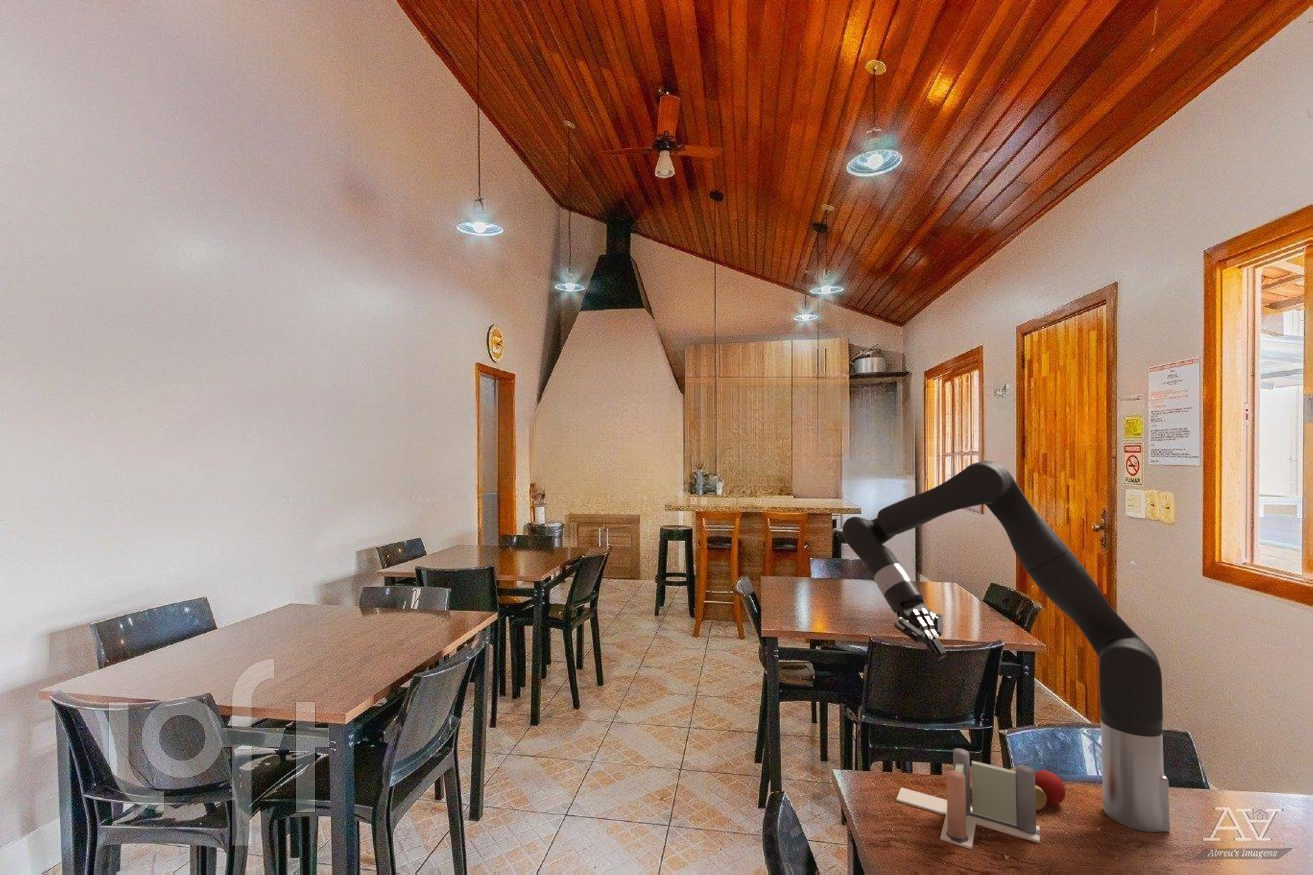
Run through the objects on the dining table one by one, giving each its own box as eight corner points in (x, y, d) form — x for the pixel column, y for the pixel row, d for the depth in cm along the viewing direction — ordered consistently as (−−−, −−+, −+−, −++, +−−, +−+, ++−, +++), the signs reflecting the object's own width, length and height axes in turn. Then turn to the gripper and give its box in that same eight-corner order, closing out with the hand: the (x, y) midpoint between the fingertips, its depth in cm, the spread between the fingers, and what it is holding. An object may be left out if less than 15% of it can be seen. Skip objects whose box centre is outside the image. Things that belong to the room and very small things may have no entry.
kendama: (982, 818, 115) (1078, 810, 113) (974, 782, 116) (1069, 774, 115) (965, 803, 122) (1056, 795, 121) (958, 770, 124) (1048, 761, 122)
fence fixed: (1036, 827, 109) (1034, 765, 109) (1036, 836, 106) (1034, 772, 107) (955, 804, 116) (954, 746, 116) (953, 812, 113) (952, 753, 114)
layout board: (1039, 828, 109) (1039, 825, 109) (1040, 870, 98) (1040, 867, 98) (901, 789, 122) (901, 786, 122) (887, 822, 111) (887, 820, 111)
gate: (952, 810, 113) (951, 755, 114) (970, 816, 112) (969, 759, 112) (946, 835, 106) (945, 775, 106) (965, 840, 104) (964, 780, 105)
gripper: (884, 581, 133) (928, 652, 122) (927, 576, 138) (974, 644, 127) (867, 599, 138) (909, 669, 126) (910, 594, 143) (954, 662, 131)
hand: (942, 657), depth 126 cm, fingers closed
